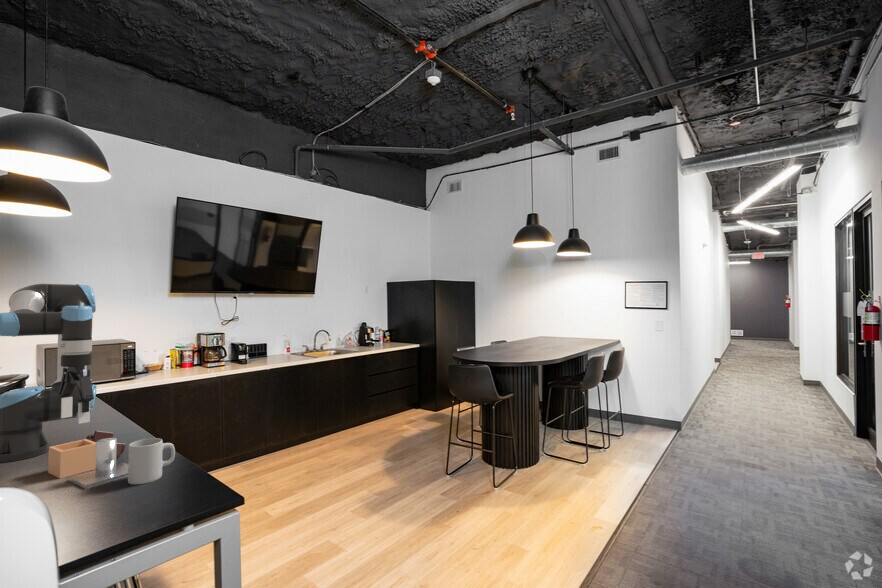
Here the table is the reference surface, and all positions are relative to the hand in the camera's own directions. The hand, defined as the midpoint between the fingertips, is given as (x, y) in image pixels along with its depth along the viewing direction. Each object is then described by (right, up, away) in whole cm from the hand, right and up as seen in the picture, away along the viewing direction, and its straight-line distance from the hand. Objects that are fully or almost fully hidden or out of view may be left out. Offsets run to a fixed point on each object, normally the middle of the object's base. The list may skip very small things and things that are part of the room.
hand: (74, 420), depth 135 cm
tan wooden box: (0, -16, -1) cm, 16 cm away
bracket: (+1, -17, +9) cm, 19 cm away
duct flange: (+14, -16, -6) cm, 22 cm away
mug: (+29, -16, -6) cm, 34 cm away
